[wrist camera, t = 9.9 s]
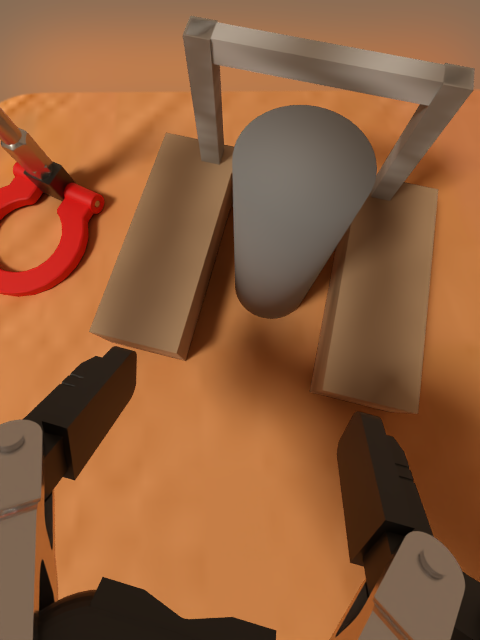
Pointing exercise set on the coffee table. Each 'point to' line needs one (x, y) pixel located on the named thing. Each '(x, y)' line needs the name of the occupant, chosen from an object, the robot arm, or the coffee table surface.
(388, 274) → the wooden gate frame
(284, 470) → the coffee table surface
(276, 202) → the grey tapered capsule
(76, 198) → the tow hook
